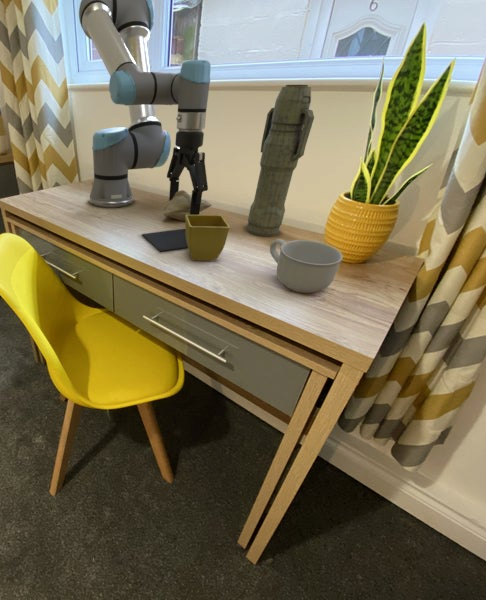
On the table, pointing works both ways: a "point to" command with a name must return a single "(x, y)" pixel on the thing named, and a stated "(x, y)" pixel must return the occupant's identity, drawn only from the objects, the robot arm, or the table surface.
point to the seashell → (182, 206)
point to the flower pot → (205, 235)
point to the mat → (167, 240)
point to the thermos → (280, 157)
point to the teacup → (306, 264)
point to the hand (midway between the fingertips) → (183, 208)
